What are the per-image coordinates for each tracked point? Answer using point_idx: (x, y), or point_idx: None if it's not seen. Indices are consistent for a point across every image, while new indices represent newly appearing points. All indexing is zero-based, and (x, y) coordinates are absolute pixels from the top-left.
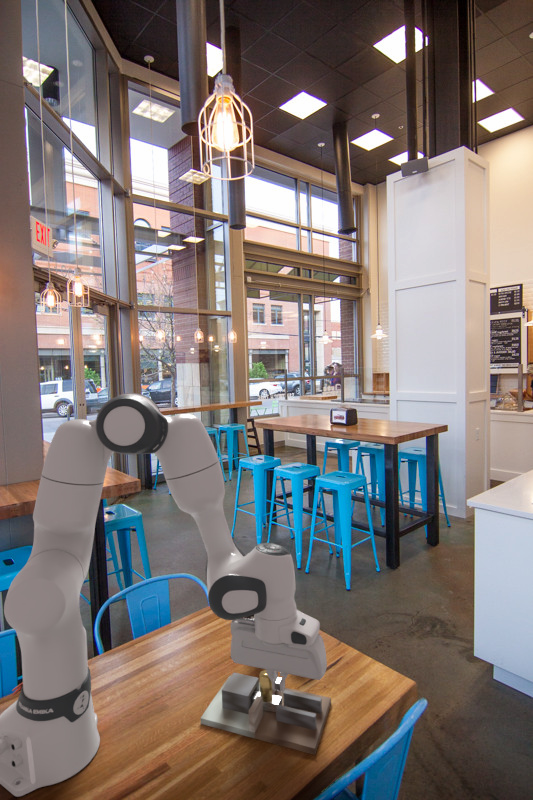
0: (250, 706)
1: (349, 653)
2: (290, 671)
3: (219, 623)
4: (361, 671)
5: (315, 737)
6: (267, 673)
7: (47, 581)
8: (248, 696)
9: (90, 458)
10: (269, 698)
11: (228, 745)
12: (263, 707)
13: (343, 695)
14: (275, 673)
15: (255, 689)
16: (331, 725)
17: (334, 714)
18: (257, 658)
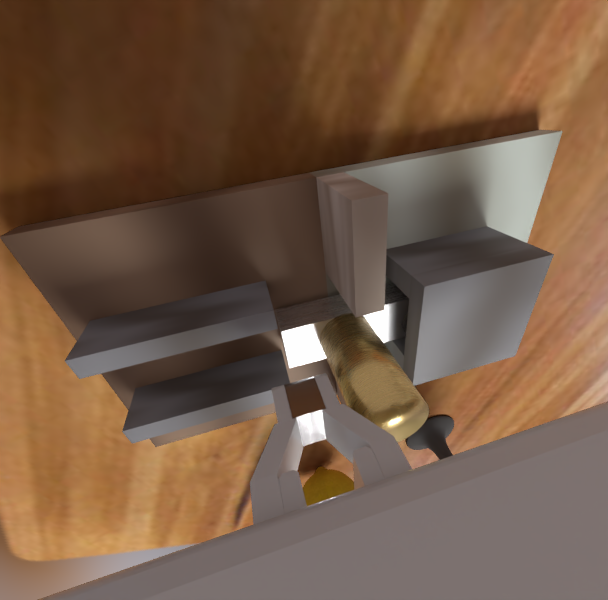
0: (389, 277)
1: None
2: (194, 582)
3: None
4: (162, 527)
5: (55, 291)
6: (387, 438)
7: None
8: (421, 288)
9: None
10: (328, 335)
11: (399, 73)
12: (339, 299)
13: (147, 464)
14: (344, 453)
15: (401, 343)
16: None
17: (116, 407)
18: (549, 538)
